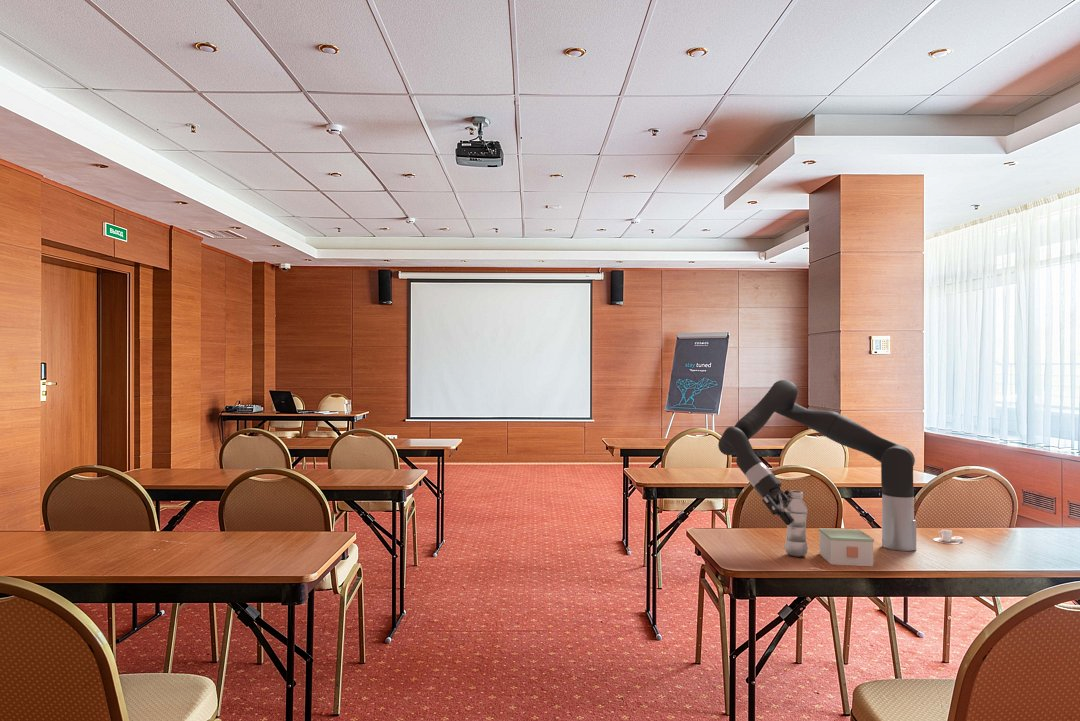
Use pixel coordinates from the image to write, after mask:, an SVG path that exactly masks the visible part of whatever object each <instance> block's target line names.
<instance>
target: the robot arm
mask: <svg viewBox="0 0 1080 721" xmlns="http://www.w3.org/2000/svg"><path fill="white" fill-rule="evenodd" d="M798 391H799V390H798V387H797V385H796V384H795V383H794V382H792V381H790V380H786V379H781V380H778V381H776V382H774V383H773V384H772V386H771V387H770V389H769V390H768V391H767V393H766V394H765V395H764V396H763V397H762V399H760V401H759V402H757V404H755V405H754V406H753V408H752V409H750V410H749V411H748V412H747V413H746V414H745V415H743V416H742V417H741V418H740V419H739V420H738V421H737V422H736V423H735V425H734V426H729V427H727V428H726V429H725V430H724V432H723V433H722V435H721V436H720V438H719V441H718V444H717V445H718V450H719V451H720V452H721V454H723V455H725V456H733V455H736V461H735V463H736V466H737V467H738V468H739V469H740V471H741V472H742V474H744V475H745V478H747V480H748V482H749V483H750V485H752V487H753V488H754V489H755V491H756V492H757V494H759V496H760V497H761V498H762V499H761V500H762V502H763V504H764V505H765V506H766V507H767V509H768V510H769V511H770V514H771V515H772V516H775V515H776V516H778V517H780V519H781V521H782V522H783V523H784V524H785V525H786V526H787V525H790V524H791V523H792V522H793V521H792V519H791V518H790V517H789V516H788V514H787V513H786V512H785V506H786V504H787V502H788V501H789V500H790V499H791V497H790V490H788V489H786V490H785V491H783V490H782V489H781V488H782V483H781V482H780V480H779V479H778V478H777V477H776V476H775V475H774V473H773V472H772V471H771V469H770V468H769V467H768V466H767V465H766V464H765V463H764V462H763V461H762V460H761V459H760V458H759V456H758V455H757V454H756V453H755V451H754V448H753V447H752V445H751V442H750V441H749V440H750V439H751V438H753V437H754V436H755V435H756V434H757V433H758V432H760V430H762V429H763V427H765V426H766V424H767V423H768V421H769V419H770V418H771V417H772V415H773V414H774V413H777V414H778V415H780V416H783V417H785V418H787V419H791V420H793V421H795V422H797V423H798V424H801V425H803V426H805V427H807V428H809V429H811V430H813V431H815V432H817V433H819V434H821V435H822V436H824V437H826V438H827V439H829V440H831V441H833V442H835V443H836V444H839V445H840V446H841V445H842V446H844V447H847V448H849V449H852V450H856V451H858V452H861V453H864V454H866V455H868V456H869V457H871V458H873V459H875V460H876V461H878V462H880V472H881V473H880V474H881V475H880V477H881V478H880V480H881V481H880V482H881V483H880V484H881V489H882V490H881V494H882V496H881V499H882V500H881V510H882V511H881V546H882V547H883V548H885V549H888V550H894V551H901V552H903V551H904V552H912V551H917V520H916V519H915V500H914V499H915V490H914V489H915V488H914V487H915V486H914V466H915V463H916V460H915V455H914V454H913V452H912V450H910V449H909V448H908V447H906V446H903V445H901V444H899V443H895V442H893V441H891V440H888V439H887V438H884V437H882V436H879V435H877V434H875V433H873V431H871V430H869V429H867V428H866V427H865V426H862V425H860V424H859V423H857V422H856V421H854V420H852V419H850V418H848V417H847V416H844V415H842V414H841V413H839V412H837V411H834V410H833V411H832V410H823V409H822V410H815V409H814V410H813V409H809V408H806V407H804V406H802V405H799V404H798V403H796V400H797V399H798V398H797V397H798V394H799V393H798Z"/></svg>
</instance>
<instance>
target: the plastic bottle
mask: <svg viewBox="0 0 1080 721" xmlns="http://www.w3.org/2000/svg"><path fill="white" fill-rule="evenodd" d="M789 492H790V497H791V499H790V500H789V501H788V502H787V504H786V506H785V508H784V512H786V513H787V514H788V516H789V517H790V518H791V519H792V521H793V522H792V523H791V524H790V525H786V537H785V538H786V539H785V543H784V549H785V552H786V553H787V555H789V556H793V557H796V558H797V557H805V556H806V555H807V554H808V550H809V546H808V542H807V534H806V533H807V532H806V528H807V527H806V526H807V516H808V507H807V505H806V503H805V502H804V500H803V498H804V492H803V491H801V490H789Z"/></svg>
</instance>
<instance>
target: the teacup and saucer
mask: <svg viewBox="0 0 1080 721" xmlns="http://www.w3.org/2000/svg"><path fill="white" fill-rule="evenodd" d="M940 533H941V535H940ZM937 535H938V536H939V537H935V538H933V539H932V540H933V541H935V542H937V543H941V544H947V545H948V544H949V545H959V544H961V542H963V541H964V538H963V537H962V536H953V530H951V529H941V530H938V532H937ZM940 540H942V541H940ZM951 542H953V543H951Z"/></svg>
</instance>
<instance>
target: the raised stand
mask: <svg viewBox="0 0 1080 721" xmlns="http://www.w3.org/2000/svg"><path fill="white" fill-rule="evenodd" d="M818 531H819V532H818V533H819V534H818V535H819V541H818V542H819V544H818V546H819V549H818V550H819V552H818V554H819V555H820V556H821V557H822V558H823V559H824V560H825V561H826V562H828V564H830V565H834V566H836V565H837V566H856V567H857V566H858V567H861V566H862V567H874V543H875V539H874V538H872V536H869V535H868V534H866V533H865V532H864V531H862V530H861V529H852V528H851V529H848V528H825V527H824V528H823V527H819V528H818Z"/></svg>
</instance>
